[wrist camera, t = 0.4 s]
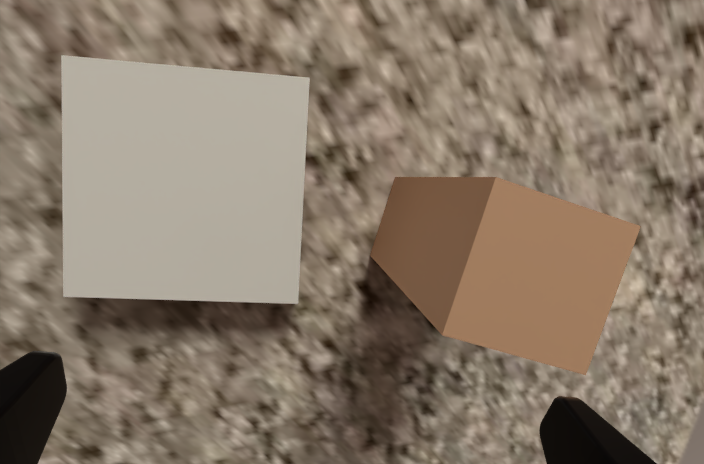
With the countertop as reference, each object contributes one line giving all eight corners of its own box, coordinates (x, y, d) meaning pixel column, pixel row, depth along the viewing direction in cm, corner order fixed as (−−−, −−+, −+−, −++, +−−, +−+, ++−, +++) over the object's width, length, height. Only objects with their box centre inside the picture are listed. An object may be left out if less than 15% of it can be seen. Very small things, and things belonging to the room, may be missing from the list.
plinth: (298, 290, 23) (297, 304, 21) (89, 283, 22) (63, 296, 20) (308, 88, 22) (309, 77, 20) (89, 69, 21) (61, 55, 18)
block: (444, 277, 24) (585, 374, 12) (370, 255, 23) (442, 335, 12) (470, 201, 24) (640, 226, 12) (395, 177, 23) (495, 177, 11)
